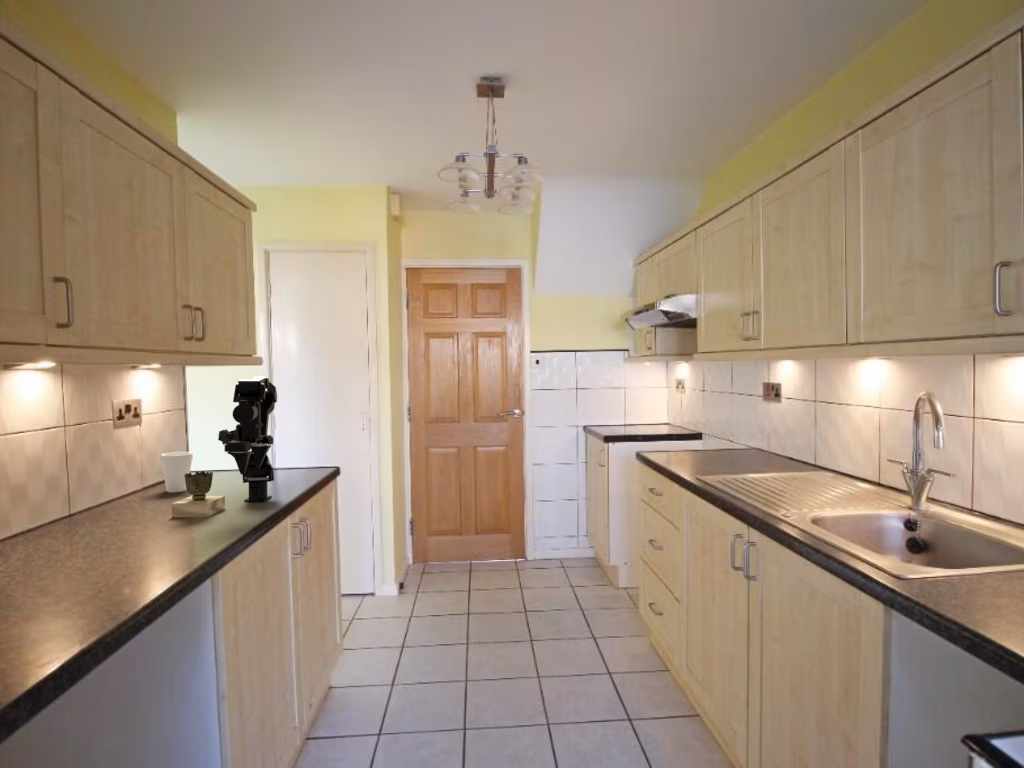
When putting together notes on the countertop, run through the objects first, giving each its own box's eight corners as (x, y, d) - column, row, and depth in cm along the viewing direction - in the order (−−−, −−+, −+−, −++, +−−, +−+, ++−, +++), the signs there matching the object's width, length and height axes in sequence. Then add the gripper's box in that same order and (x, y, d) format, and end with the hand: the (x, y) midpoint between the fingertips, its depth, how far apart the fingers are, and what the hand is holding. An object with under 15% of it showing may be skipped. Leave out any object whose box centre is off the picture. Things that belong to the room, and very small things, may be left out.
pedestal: (193, 508, 169) (192, 495, 168) (224, 508, 168) (224, 495, 168) (172, 516, 159) (172, 503, 158) (205, 517, 158) (205, 503, 158)
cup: (191, 503, 158) (190, 476, 158) (180, 500, 162) (180, 473, 162) (217, 499, 164) (217, 472, 164) (206, 495, 168) (206, 469, 168)
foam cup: (198, 488, 196) (198, 452, 196) (176, 494, 187) (176, 456, 187) (177, 486, 199) (177, 451, 198) (155, 492, 190) (154, 455, 189)
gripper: (240, 417, 176) (240, 465, 176) (206, 423, 157) (206, 476, 158) (274, 418, 176) (274, 466, 176) (244, 423, 157) (244, 477, 157)
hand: (250, 471), depth 167 cm, fingers open, 9 cm apart
